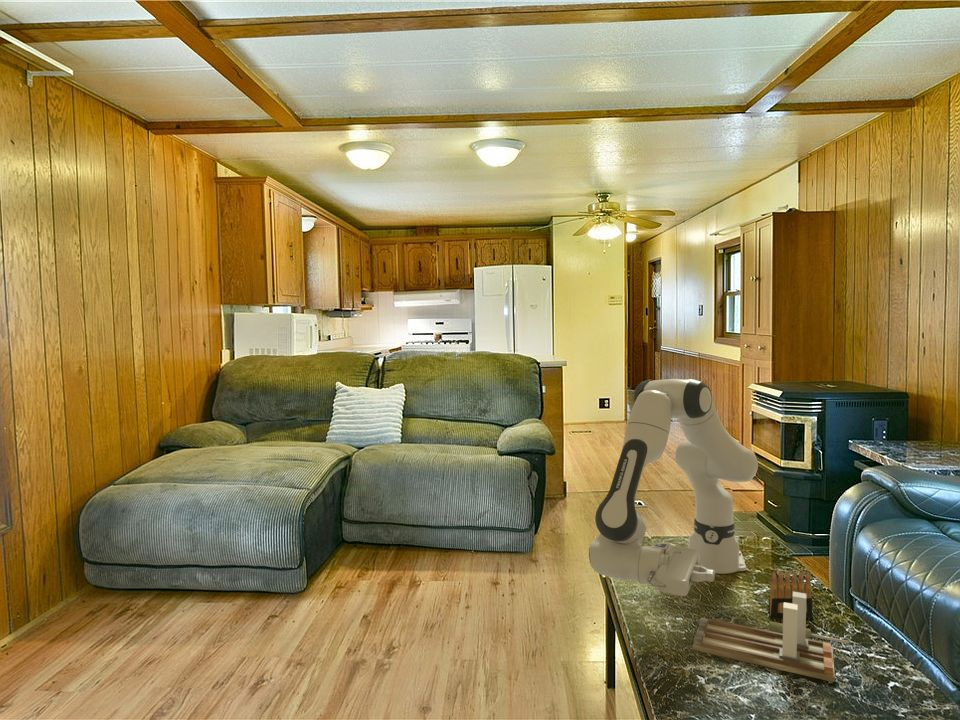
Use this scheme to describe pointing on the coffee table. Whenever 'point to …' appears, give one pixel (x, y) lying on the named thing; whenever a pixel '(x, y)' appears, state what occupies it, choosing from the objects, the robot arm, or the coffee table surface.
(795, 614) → the beige rectangular pillar
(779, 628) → the screwdriver
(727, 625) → the wooden double track board
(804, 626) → the pillar on grey base
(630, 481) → the robot arm
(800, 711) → the coffee table surface
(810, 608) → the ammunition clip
